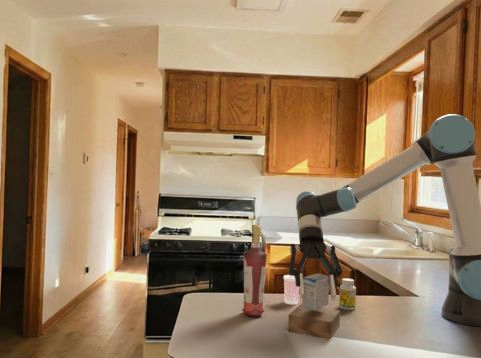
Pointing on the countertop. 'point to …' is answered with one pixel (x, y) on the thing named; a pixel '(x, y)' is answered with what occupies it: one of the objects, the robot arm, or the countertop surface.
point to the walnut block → (314, 322)
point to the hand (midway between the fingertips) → (318, 296)
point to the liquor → (254, 276)
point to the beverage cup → (290, 290)
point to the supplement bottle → (347, 294)
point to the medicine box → (315, 291)
